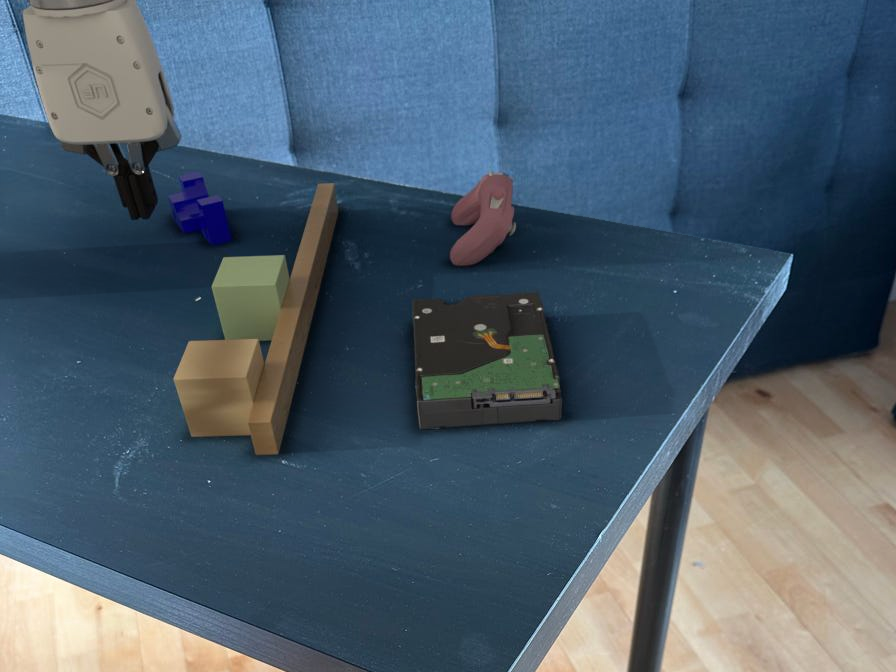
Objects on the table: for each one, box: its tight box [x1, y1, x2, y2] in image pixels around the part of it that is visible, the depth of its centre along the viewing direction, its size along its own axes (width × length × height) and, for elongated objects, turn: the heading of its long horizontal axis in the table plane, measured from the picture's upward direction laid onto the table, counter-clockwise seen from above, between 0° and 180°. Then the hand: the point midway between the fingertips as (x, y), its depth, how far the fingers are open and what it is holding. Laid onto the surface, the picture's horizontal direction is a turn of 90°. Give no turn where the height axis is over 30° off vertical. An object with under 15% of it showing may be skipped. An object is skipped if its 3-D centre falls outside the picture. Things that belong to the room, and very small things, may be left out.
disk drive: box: [411, 291, 563, 430], centre depth 70 cm, size 10×3×15 cm
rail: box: [248, 182, 339, 456], centre depth 77 cm, size 2×40×3 cm, turn 0°
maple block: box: [173, 339, 265, 438], centre depth 66 cm, size 5×5×5 cm
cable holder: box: [167, 171, 233, 247], centre depth 89 cm, size 8×4×4 cm, turn 27°
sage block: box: [211, 254, 290, 342], centre depth 75 cm, size 5×5×5 cm
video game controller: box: [449, 169, 517, 267], centre depth 84 cm, size 10×5×7 cm, turn 0°
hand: (143, 213), depth 89 cm, fingers closed
